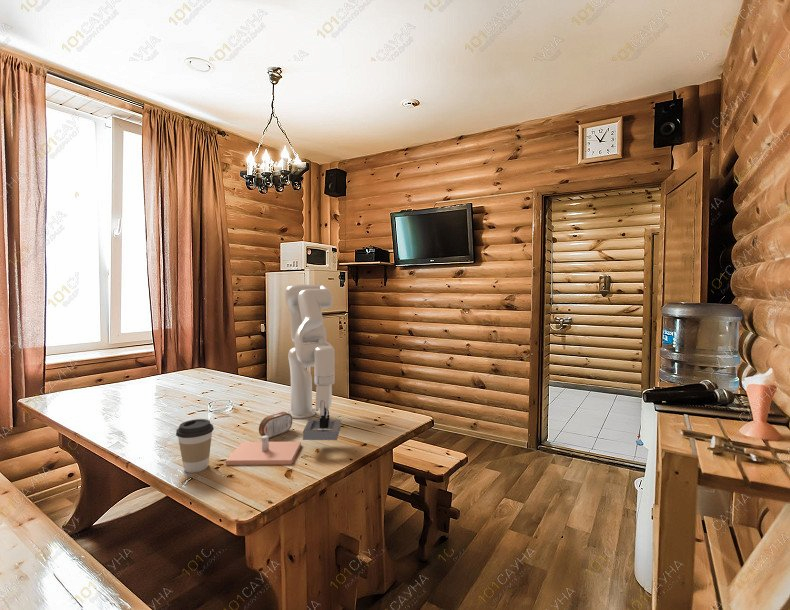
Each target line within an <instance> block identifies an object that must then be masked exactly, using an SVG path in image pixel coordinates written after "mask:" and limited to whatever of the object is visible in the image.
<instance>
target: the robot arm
mask: <svg viewBox="0 0 790 610" xmlns="http://www.w3.org/2000/svg"><path fill="white" fill-rule="evenodd" d="M284 297H285V302H286V306H287V308H288V311H289V316H290V320H289V321H290V337H291V341H292V342H293V343H294V347H292V348H291V349H289V351H288V354H287V355H288V357H287V359H288V363H289V370H290V371H289V372H290V410H289V411H288V412H287V413H288V414H290V415H291V416H292V419H308V418H311V417H313V416H315V415H316V412H318V411H319V419H320V428H328V419H330V408H331V406H332V399H333V398H332V397H333V393H332V392H333V387H332V386H333V385H334V384H335V379H336V378H335V377H336V376H335V373H336V372H335V370H336V369H335V368H336V366H335V361H336V360H335V355H336V354H335V352H336V351H335V348H334V347H333V345H332V344H331V343H330V342H328V341H327V330H326V326H325V324H324V317H323V313H322V309H329V308H330V309H331V307H332V306H333V304H334V303H333V302H334V300H333V294H332V292H331V290H330V289H329V288H328V287H326V286H325V285H322V284H295V285H294V284H292V285H289V286H287V287H286V289H285V292H284ZM310 367H313V368H314V369H313V371H314V374H313V375H314V379H313V376H312V374H311V372H310V371H309V370H308V369H307V368H310ZM313 380H314V385H316V386H315V387H316V389H315V409H314V408H313Z"/></svg>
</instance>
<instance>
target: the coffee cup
mask: <svg viewBox="0 0 790 610" xmlns="http://www.w3.org/2000/svg"><path fill="white" fill-rule="evenodd" d="M175 432H176V433H175V436H176V437H177V439H178V444H179V450H180V455H181V460H182V467H183V469H184V472H186V473H199V472H202V471H205V470H206V469H207V468H208V467H209V463H210V454H211V445H212V444H211V443H212V436H213V435H212V434H213V432H214V424H213V423H211V421H210V420H209V419H205V418H195V419H190V420H187V421H183V422H182V423H181V424H179V426H178V428H177V429H176V431H175Z"/></svg>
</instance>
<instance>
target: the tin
mask: <svg viewBox="0 0 790 610" xmlns="http://www.w3.org/2000/svg"><path fill="white" fill-rule="evenodd" d="M292 425H293V418H292V416H291V415H290V414H288V412H286V411H281V412H278V413H275V414H271V415H268V416H265V417H264V418H263V419H261V422H260V424H259V427H258V433H259V435H260V436H261V437H262V436H269V439H272V438H274V437H277V436H280V435H283V434H286V433H287V432H289V430H291V427H292Z"/></svg>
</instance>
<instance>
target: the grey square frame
mask: <svg viewBox="0 0 790 610" xmlns="http://www.w3.org/2000/svg"><path fill="white" fill-rule="evenodd" d="M341 422H342V421H341V419H336V418H335V419H330V418H329V419H328V428H320V418H318V419H317V418H314V419H313V418H312V419H311V418H310V419H308V420H307V423H306V425H305V426H304V429H303V430H302V441H337V440H338V437H339V433H340V432H341V426H342V423H341Z"/></svg>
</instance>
